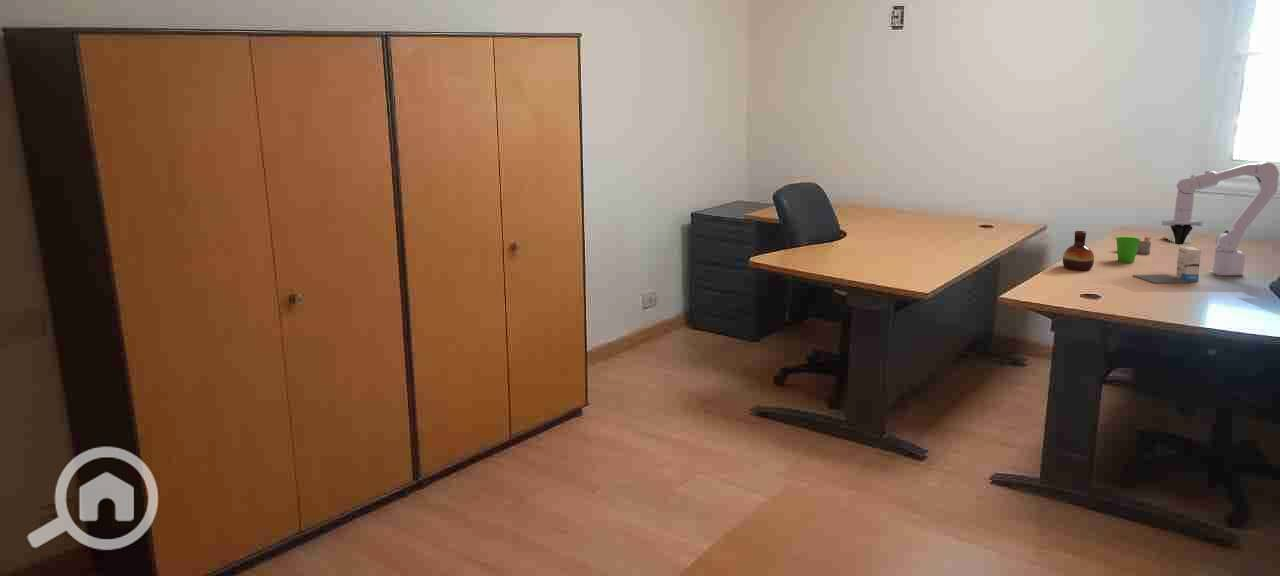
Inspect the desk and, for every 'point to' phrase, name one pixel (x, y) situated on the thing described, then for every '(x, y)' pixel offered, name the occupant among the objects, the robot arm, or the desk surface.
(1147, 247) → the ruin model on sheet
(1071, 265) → the vase
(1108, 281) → the desk surface
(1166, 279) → the mat
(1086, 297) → the desk surface
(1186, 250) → the ink box
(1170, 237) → the supplement box
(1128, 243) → the cup
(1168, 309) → the desk surface
